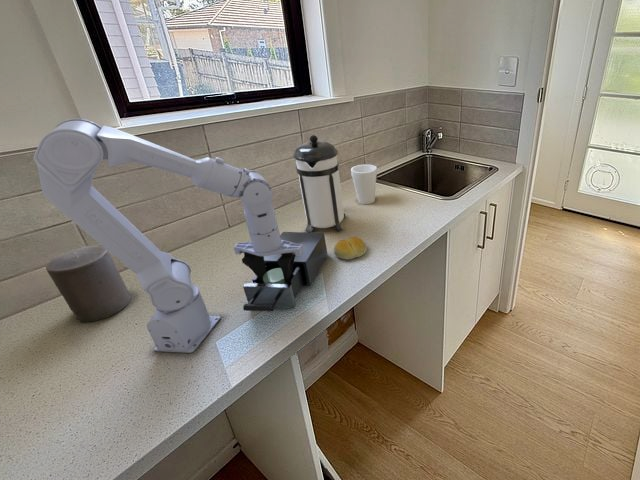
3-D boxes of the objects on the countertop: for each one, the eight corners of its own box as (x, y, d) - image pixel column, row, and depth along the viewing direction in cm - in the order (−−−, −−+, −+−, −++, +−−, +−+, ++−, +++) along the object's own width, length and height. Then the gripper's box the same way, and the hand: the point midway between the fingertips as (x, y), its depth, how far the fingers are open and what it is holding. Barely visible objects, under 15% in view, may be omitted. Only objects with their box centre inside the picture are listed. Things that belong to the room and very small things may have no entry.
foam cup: (383, 199, 129) (381, 167, 124) (368, 208, 122) (365, 174, 117) (365, 193, 134) (362, 162, 128) (349, 202, 127) (345, 169, 121)
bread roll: (332, 248, 98) (330, 237, 96) (362, 242, 102) (360, 230, 100) (337, 264, 92) (336, 251, 90) (369, 256, 95) (368, 244, 93)
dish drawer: (284, 323, 71) (279, 303, 68) (237, 322, 71) (230, 301, 69) (313, 273, 86) (310, 255, 84) (274, 272, 87) (269, 253, 84)
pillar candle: (72, 329, 71) (35, 272, 64) (80, 303, 78) (47, 249, 71) (131, 309, 76) (102, 255, 69) (133, 287, 83) (107, 235, 76)
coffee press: (360, 222, 112) (352, 134, 99) (318, 241, 102) (302, 145, 89) (332, 207, 123) (321, 125, 110) (291, 222, 113) (273, 134, 99)
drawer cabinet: (310, 287, 83) (305, 261, 80) (265, 285, 84) (258, 260, 80) (327, 255, 95) (324, 232, 92) (288, 254, 96) (283, 231, 92)
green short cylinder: (283, 291, 75) (281, 282, 74) (260, 291, 76) (258, 282, 75) (293, 276, 80) (291, 268, 79) (271, 276, 80) (269, 267, 79)
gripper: (303, 220, 74) (313, 269, 81) (240, 218, 75) (254, 267, 81) (290, 236, 68) (301, 288, 74) (222, 234, 69) (238, 286, 75)
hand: (276, 279), depth 77 cm, fingers closed on green short cylinder, 5 cm apart
